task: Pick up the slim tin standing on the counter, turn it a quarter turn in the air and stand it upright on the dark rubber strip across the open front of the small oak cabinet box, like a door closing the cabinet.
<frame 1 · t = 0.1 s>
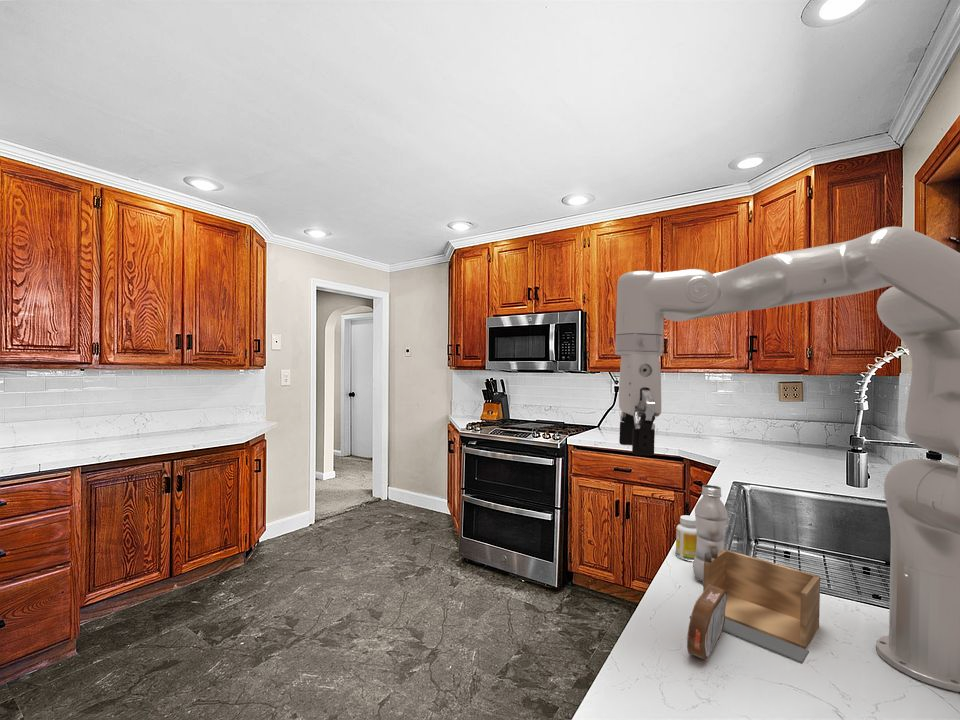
hand: (635, 449, 77), 31 cm above the counter, tool pointing down, fingers open, 9 cm apart
cabinet carcass: (759, 618, 84), on the counter
plastic bottle: (709, 581, 99), on the counter
door seat: (745, 634, 79), on the counter
tin: (708, 647, 75), on the counter
supplement bottle: (687, 558, 111), on the counter
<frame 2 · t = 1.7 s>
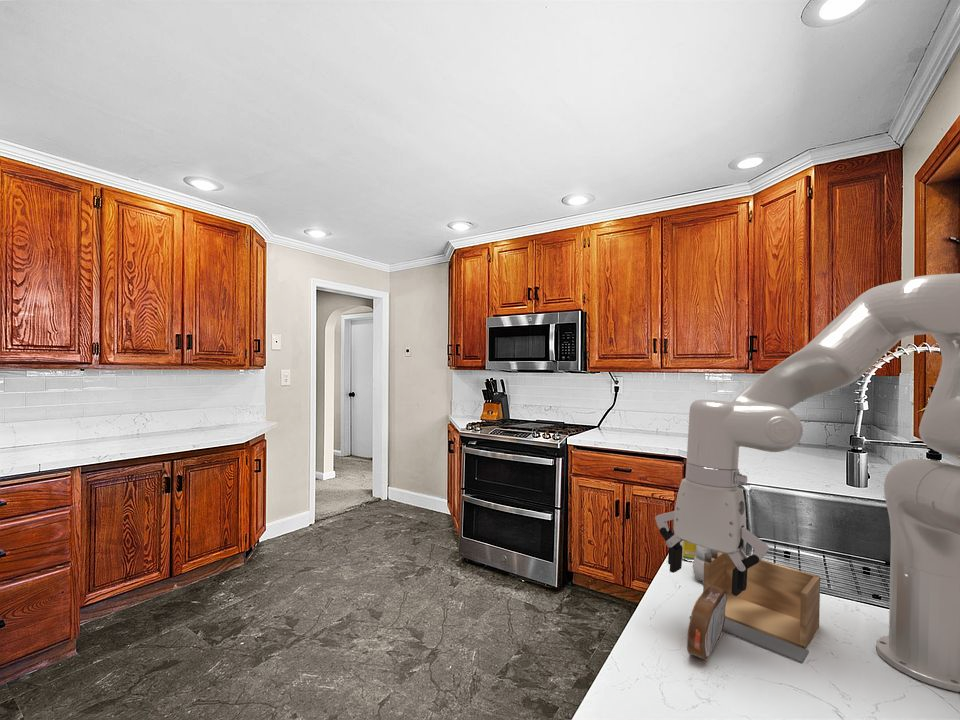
hand: (704, 581, 76), 10 cm above the counter, tool pointing down, fingers open, 9 cm apart
nothing on the counter moved.
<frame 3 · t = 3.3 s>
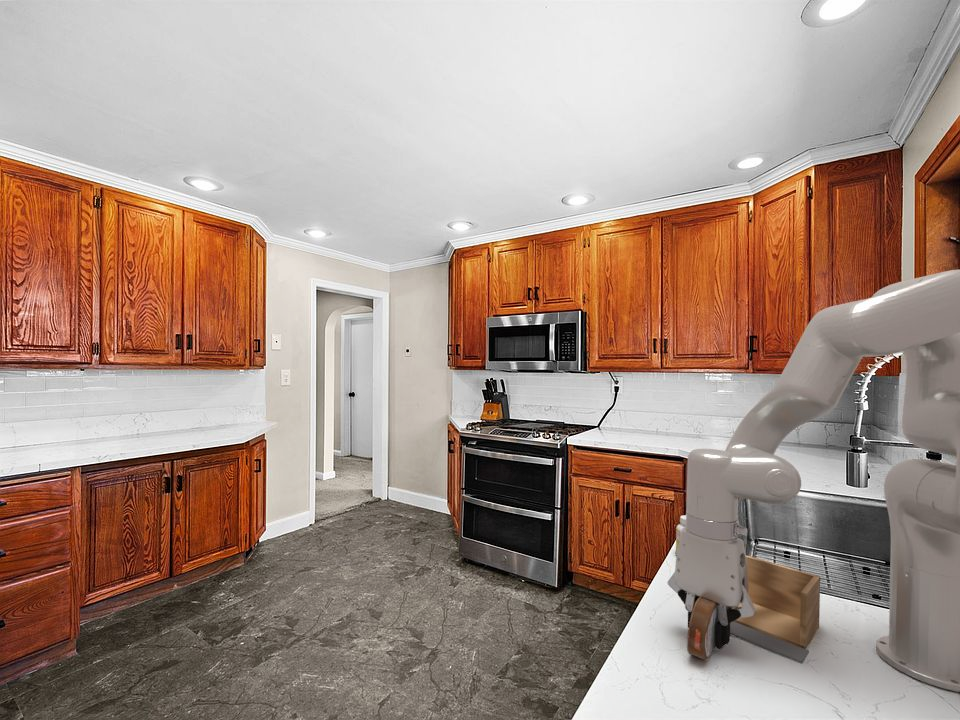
hand: (708, 639, 76), 1 cm above the counter, tool pointing down, fingers open, 3 cm apart
tin: (708, 647, 75), on the counter, touching gripper
everything else where it was.
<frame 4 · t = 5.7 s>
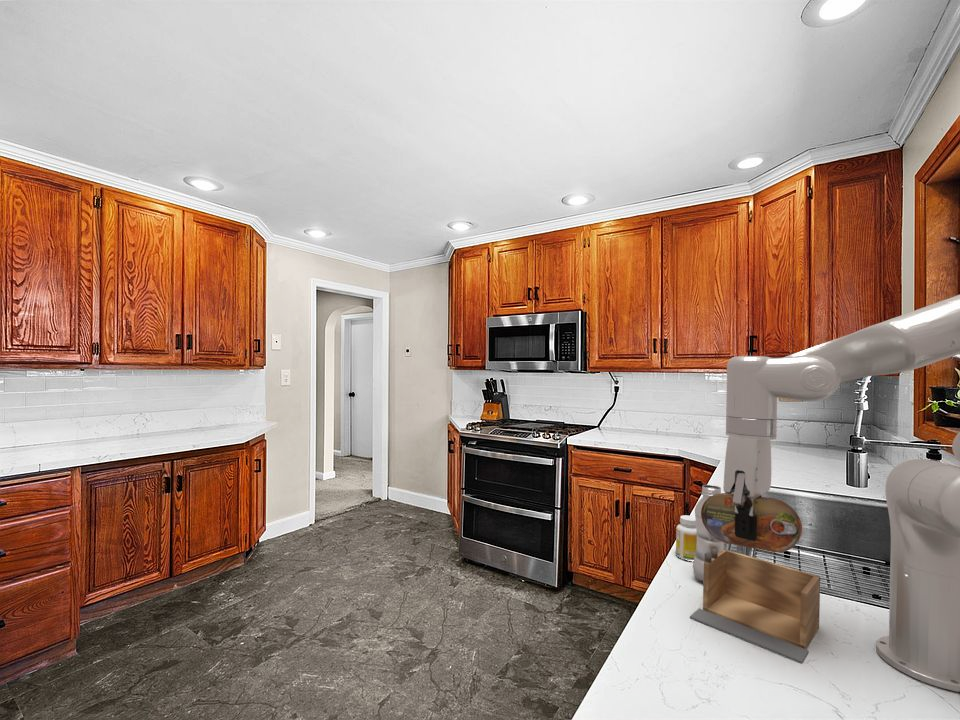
hand: (748, 535, 79), 17 cm above the counter, tool pointing down, fingers closed on tin, 2 cm apart
tin: (751, 546, 79), point 15 cm above the counter, touching gripper
everything else where it was.
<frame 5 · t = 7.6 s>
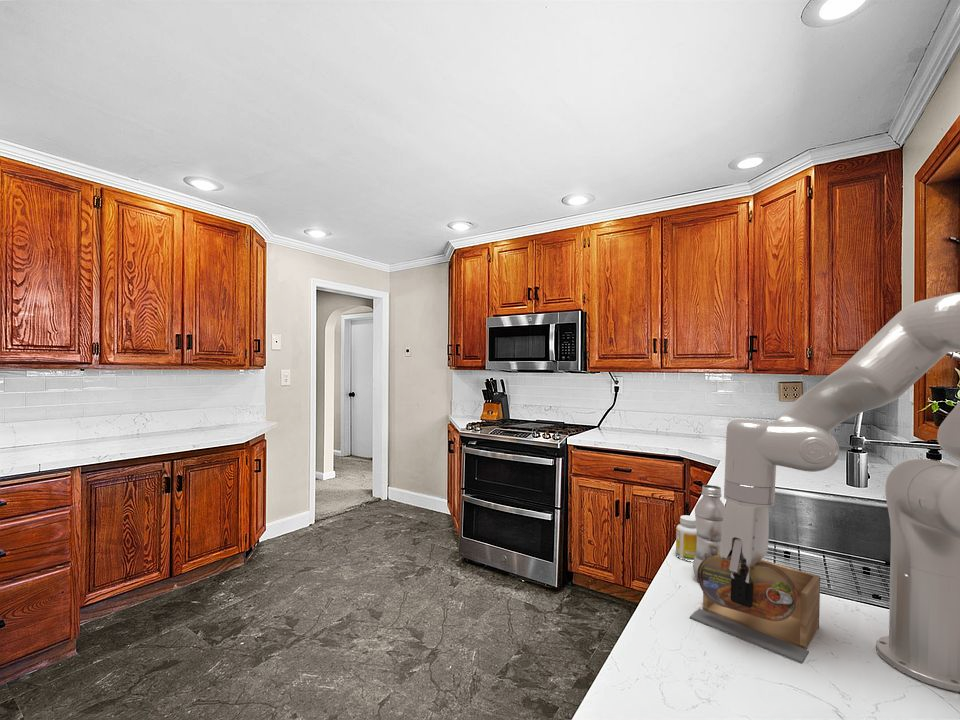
hand: (744, 600, 79), 6 cm above the counter, tool pointing down, fingers closed on tin, 2 cm apart
tin: (747, 611, 79), point 4 cm above the counter, touching gripper
everything else where it was.
when the fingers open (2 cm above the counter, at t = 9.0 s): tin stays where it is, resting on door seat.
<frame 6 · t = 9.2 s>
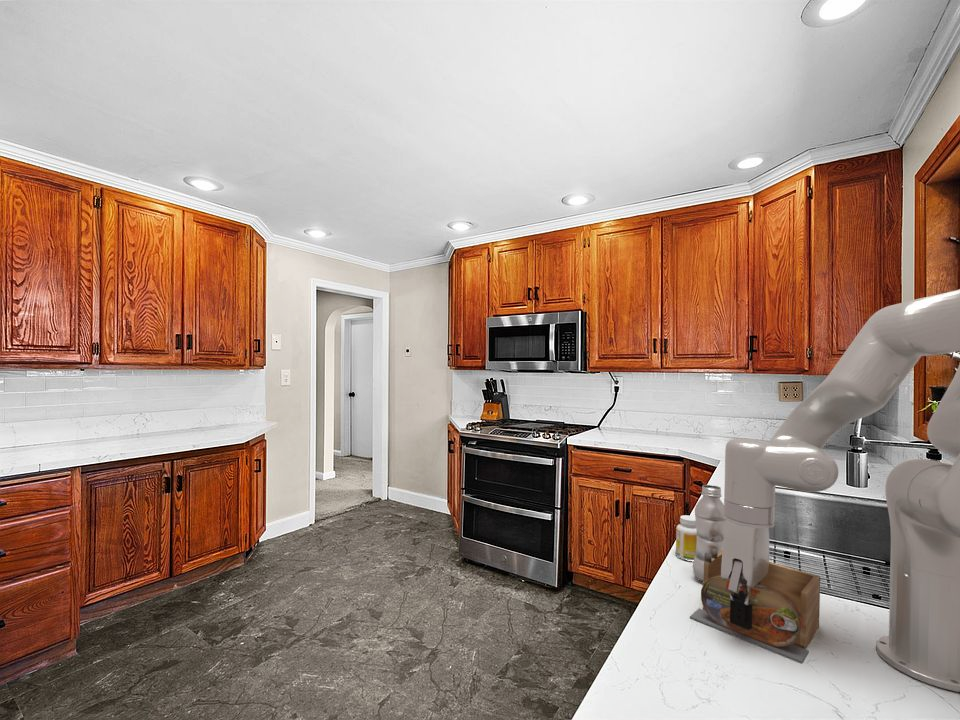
hand: (746, 619, 79), 3 cm above the counter, tool pointing down, fingers open, 4 cm apart
tin: (748, 633, 79), resting on door seat
everything else where it was.
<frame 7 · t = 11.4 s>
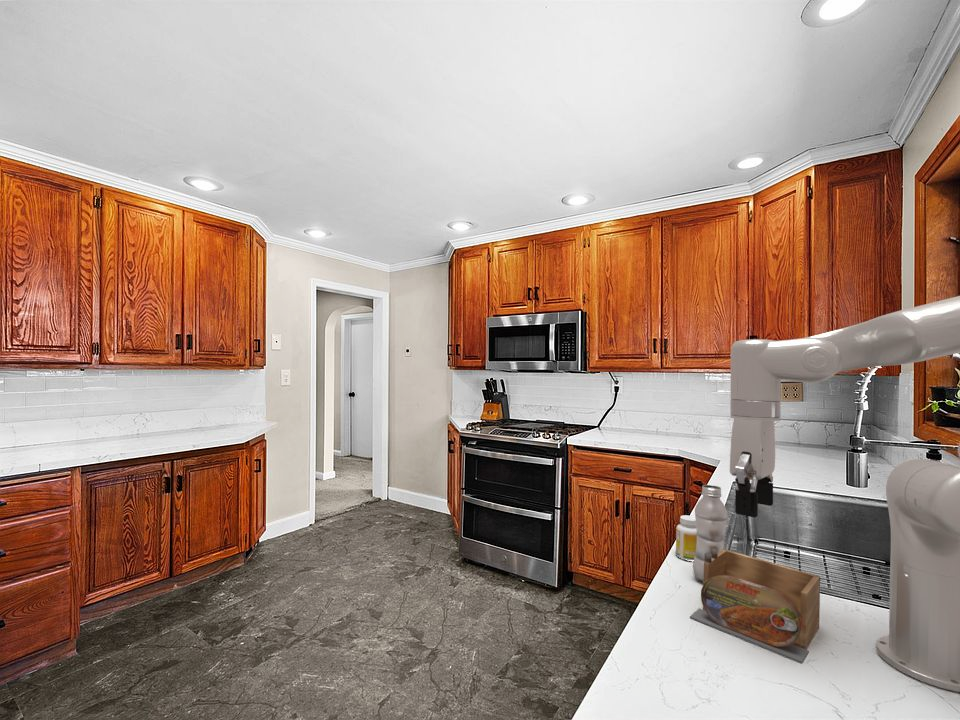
hand: (754, 509, 81), 21 cm above the counter, tool pointing down, fingers open, 9 cm apart
nothing on the counter moved.
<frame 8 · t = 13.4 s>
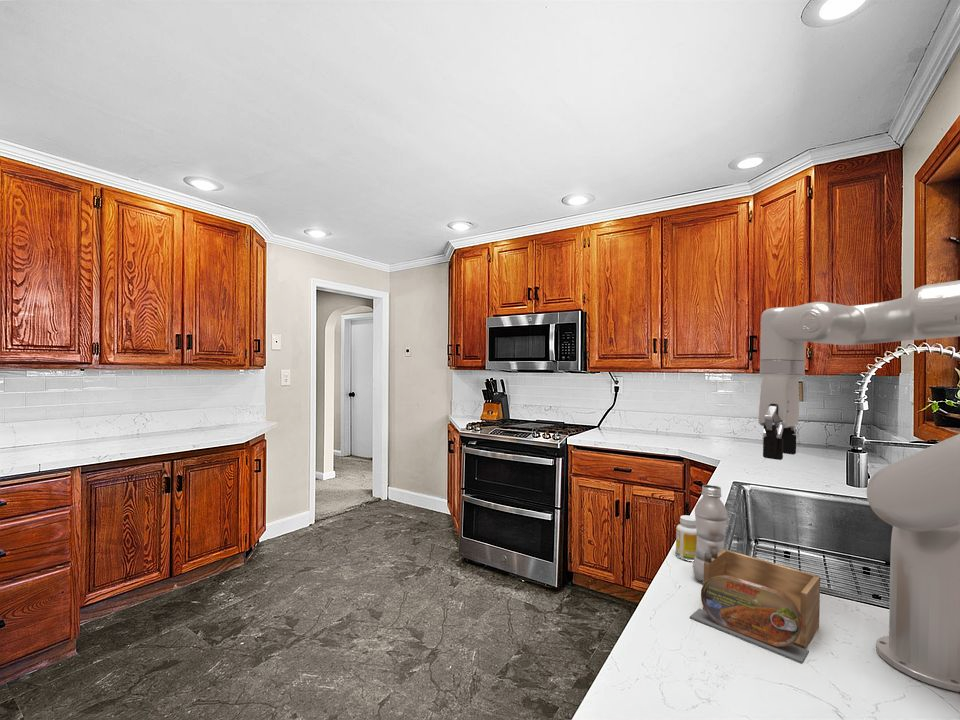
hand: (779, 456, 92), 28 cm above the counter, tool pointing down, fingers open, 9 cm apart
nothing on the counter moved.
at the end: tin inside the target area on the counter beside the cabinet carcass (0.7 cm from its centre), resting on door seat; tin tilted 0°; the gripper is holding nothing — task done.
